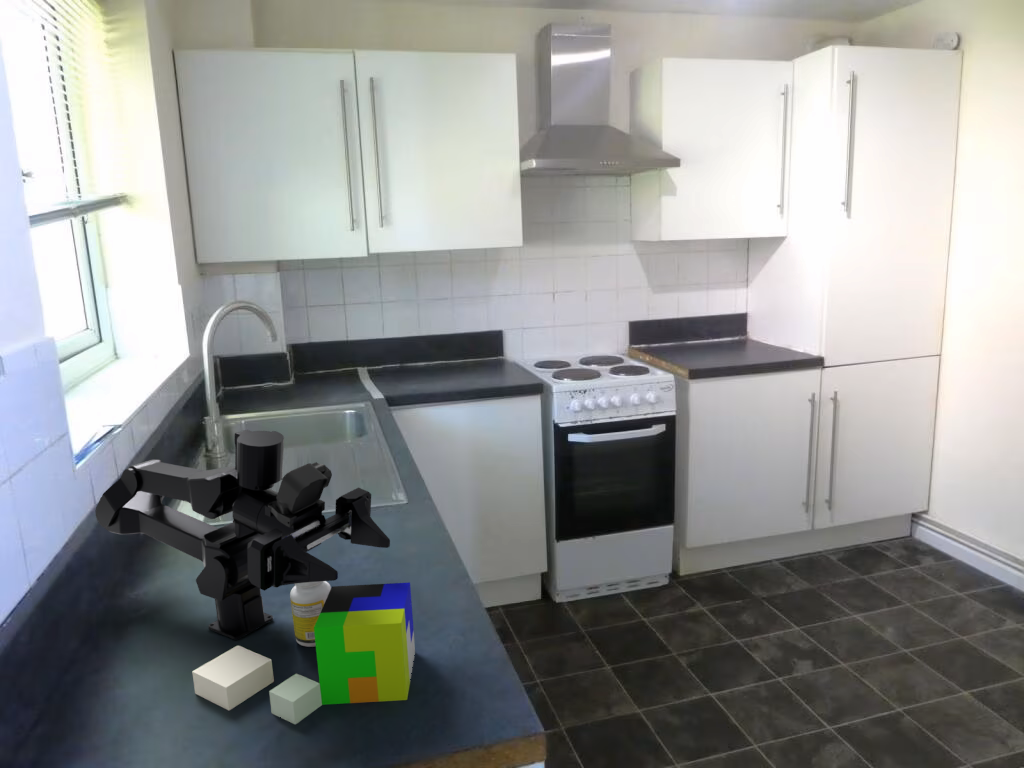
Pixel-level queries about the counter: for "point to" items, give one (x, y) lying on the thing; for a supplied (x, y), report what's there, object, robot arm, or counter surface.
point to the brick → (295, 698)
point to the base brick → (233, 677)
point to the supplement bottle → (307, 609)
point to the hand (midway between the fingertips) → (364, 559)
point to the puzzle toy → (365, 643)
